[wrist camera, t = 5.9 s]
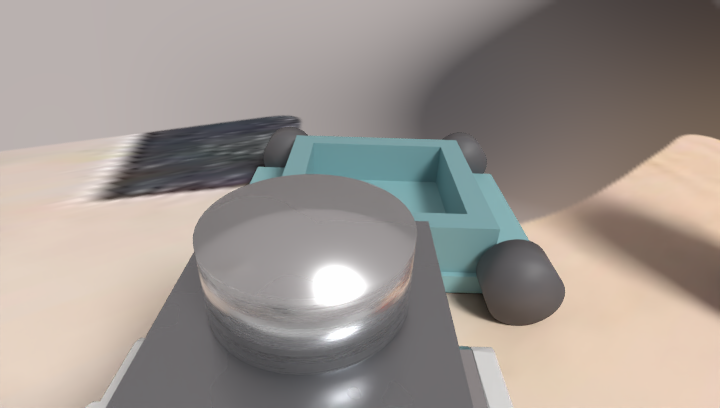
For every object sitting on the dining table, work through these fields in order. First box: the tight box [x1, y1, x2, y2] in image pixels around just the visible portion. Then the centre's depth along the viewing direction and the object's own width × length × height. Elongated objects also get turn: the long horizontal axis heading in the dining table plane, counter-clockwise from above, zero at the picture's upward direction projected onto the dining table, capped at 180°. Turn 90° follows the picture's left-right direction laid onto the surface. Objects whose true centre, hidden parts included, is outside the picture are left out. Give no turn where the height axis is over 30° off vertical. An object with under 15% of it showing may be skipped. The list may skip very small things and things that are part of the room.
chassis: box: [250, 127, 565, 326], centre depth 24 cm, size 16×15×4 cm
